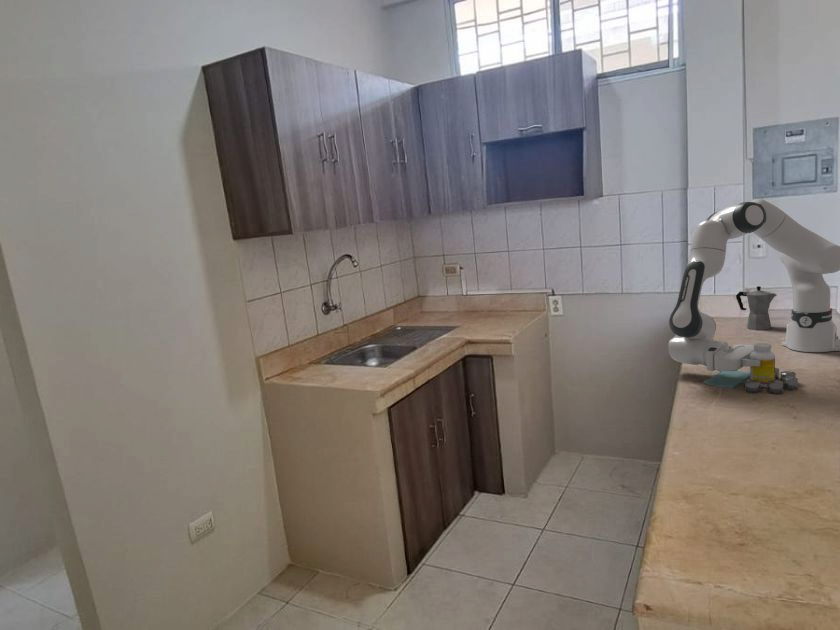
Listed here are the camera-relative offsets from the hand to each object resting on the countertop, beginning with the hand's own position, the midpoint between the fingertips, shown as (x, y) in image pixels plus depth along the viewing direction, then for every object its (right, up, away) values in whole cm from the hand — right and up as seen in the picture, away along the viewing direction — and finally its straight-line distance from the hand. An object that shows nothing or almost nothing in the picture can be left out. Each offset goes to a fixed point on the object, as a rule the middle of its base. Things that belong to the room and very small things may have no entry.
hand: (765, 360), depth 174 cm
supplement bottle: (0, -8, +2) cm, 8 cm away
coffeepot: (+38, +8, +68) cm, 78 cm away
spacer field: (+3, -8, -1) cm, 8 cm away
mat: (-6, -7, +10) cm, 14 cm away
